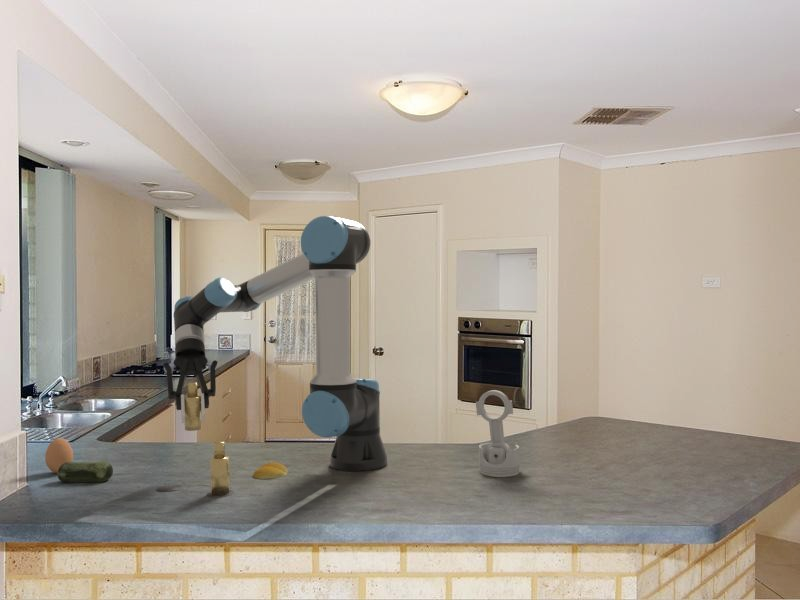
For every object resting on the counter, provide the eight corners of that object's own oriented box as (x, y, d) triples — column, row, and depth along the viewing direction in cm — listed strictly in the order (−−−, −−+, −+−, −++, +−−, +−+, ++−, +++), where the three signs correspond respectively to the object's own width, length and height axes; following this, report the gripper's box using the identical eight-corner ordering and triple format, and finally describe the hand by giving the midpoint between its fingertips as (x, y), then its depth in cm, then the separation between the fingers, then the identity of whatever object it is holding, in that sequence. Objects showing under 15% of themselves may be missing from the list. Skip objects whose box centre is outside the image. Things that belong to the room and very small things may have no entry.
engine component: (513, 478, 166) (523, 468, 176) (511, 394, 166) (522, 388, 175) (470, 474, 171) (483, 465, 180) (469, 392, 171) (481, 387, 180)
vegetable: (116, 478, 175) (116, 458, 175) (107, 483, 170) (107, 463, 170) (62, 479, 175) (61, 459, 175) (51, 484, 170) (51, 464, 170)
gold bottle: (233, 491, 155) (232, 440, 155) (222, 496, 151) (221, 444, 151) (218, 490, 156) (217, 439, 156) (207, 495, 153) (206, 443, 153)
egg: (62, 476, 177) (61, 441, 177) (39, 475, 178) (38, 440, 178) (79, 469, 184) (78, 435, 184) (57, 469, 185) (56, 435, 185)
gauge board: (254, 493, 158) (254, 487, 158) (223, 509, 147) (223, 502, 146) (169, 485, 166) (169, 480, 166) (133, 499, 155) (133, 493, 155)
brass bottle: (204, 428, 171) (203, 381, 171) (194, 431, 167) (193, 383, 167) (191, 427, 172) (190, 381, 172) (181, 430, 168) (180, 383, 168)
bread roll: (248, 484, 166) (247, 468, 166) (262, 475, 175) (261, 459, 175) (280, 485, 165) (280, 469, 165) (293, 476, 174) (292, 460, 174)
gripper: (222, 353, 187) (228, 425, 171) (156, 356, 181) (156, 430, 166) (223, 335, 182) (230, 407, 166) (155, 337, 176) (155, 412, 161)
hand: (193, 418), depth 166 cm, fingers closed on brass bottle, 4 cm apart
